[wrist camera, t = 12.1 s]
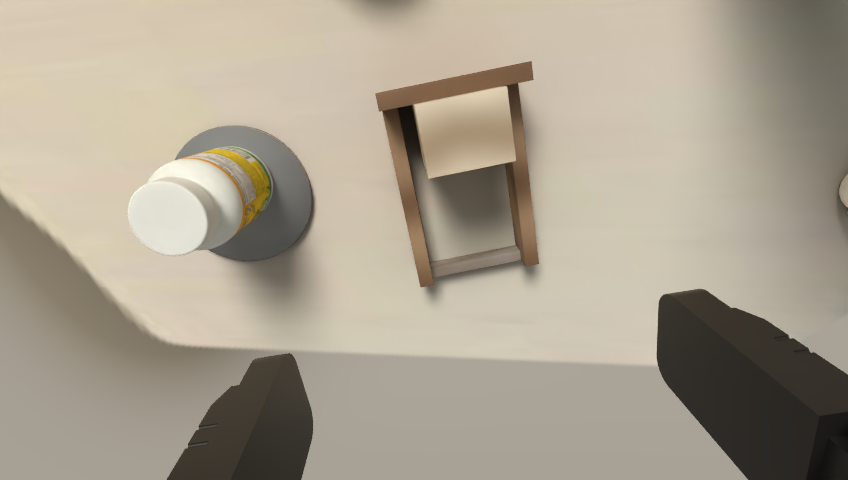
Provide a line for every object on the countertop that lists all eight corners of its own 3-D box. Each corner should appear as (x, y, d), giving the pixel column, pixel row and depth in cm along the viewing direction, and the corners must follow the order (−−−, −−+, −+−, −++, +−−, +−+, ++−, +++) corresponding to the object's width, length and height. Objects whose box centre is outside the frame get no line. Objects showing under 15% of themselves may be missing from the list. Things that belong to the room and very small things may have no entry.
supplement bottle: (252, 133, 30) (187, 150, 21) (288, 203, 32) (242, 246, 22) (183, 162, 30) (90, 191, 21) (222, 229, 32) (151, 282, 23)
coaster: (151, 141, 30) (146, 141, 30) (289, 112, 30) (287, 112, 30) (202, 269, 34) (199, 272, 33) (327, 244, 33) (326, 246, 33)
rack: (380, 93, 30) (373, 93, 22) (506, 67, 30) (542, 58, 22) (419, 274, 35) (424, 324, 27) (529, 252, 34) (565, 296, 27)
